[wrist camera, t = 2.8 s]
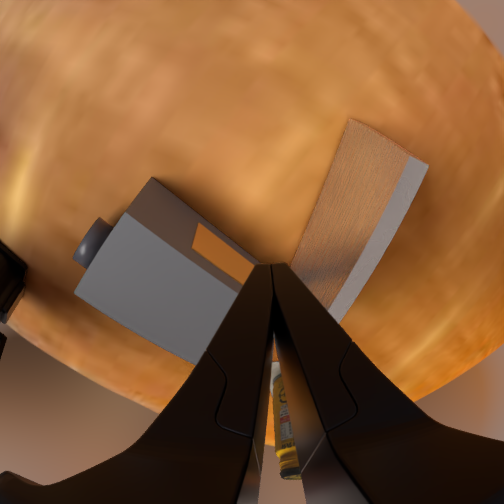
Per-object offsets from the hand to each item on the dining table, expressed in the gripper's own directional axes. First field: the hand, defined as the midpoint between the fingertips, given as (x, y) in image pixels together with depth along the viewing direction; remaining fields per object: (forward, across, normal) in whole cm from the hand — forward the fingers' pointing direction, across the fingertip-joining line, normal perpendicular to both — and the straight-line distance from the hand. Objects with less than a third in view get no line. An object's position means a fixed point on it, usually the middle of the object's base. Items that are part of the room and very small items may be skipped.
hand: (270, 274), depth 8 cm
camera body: (+10, +6, +8) cm, 14 cm away
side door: (+10, -4, +3) cm, 11 cm away
